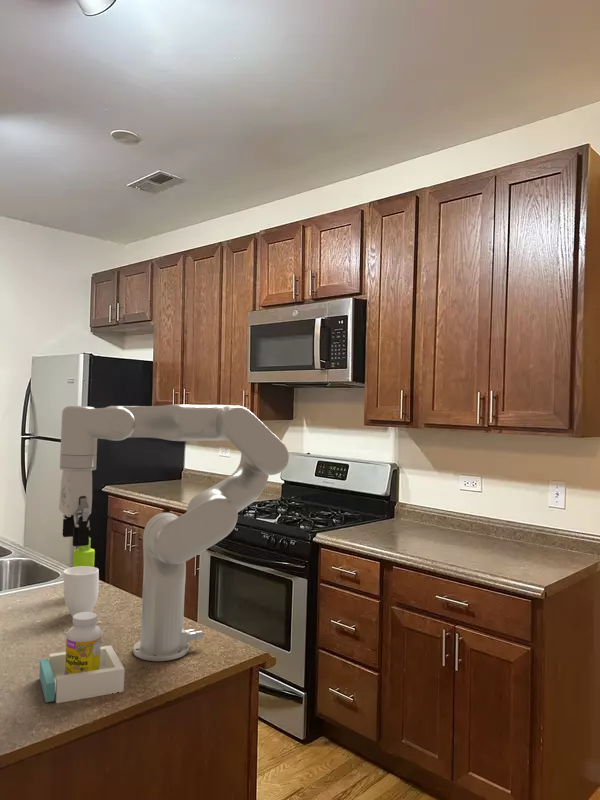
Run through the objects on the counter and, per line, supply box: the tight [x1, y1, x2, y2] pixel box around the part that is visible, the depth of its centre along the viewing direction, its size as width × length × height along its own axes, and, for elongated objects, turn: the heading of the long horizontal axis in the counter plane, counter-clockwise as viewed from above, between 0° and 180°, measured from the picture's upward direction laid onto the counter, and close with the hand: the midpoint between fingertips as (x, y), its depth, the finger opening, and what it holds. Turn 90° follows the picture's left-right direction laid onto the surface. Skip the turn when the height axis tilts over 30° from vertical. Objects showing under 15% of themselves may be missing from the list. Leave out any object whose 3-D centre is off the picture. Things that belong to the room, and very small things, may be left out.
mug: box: [63, 566, 100, 618], centre depth 168 cm, size 12×9×12 cm
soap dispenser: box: [72, 526, 96, 567], centre depth 184 cm, size 6×7×20 cm
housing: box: [48, 644, 125, 704], centre depth 127 cm, size 12×13×4 cm
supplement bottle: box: [65, 611, 102, 675], centre depth 127 cm, size 7×7×13 cm
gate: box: [38, 658, 55, 703], centre depth 124 cm, size 2×12×4 cm, turn 28°
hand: (75, 540), depth 138 cm, fingers open, 9 cm apart
